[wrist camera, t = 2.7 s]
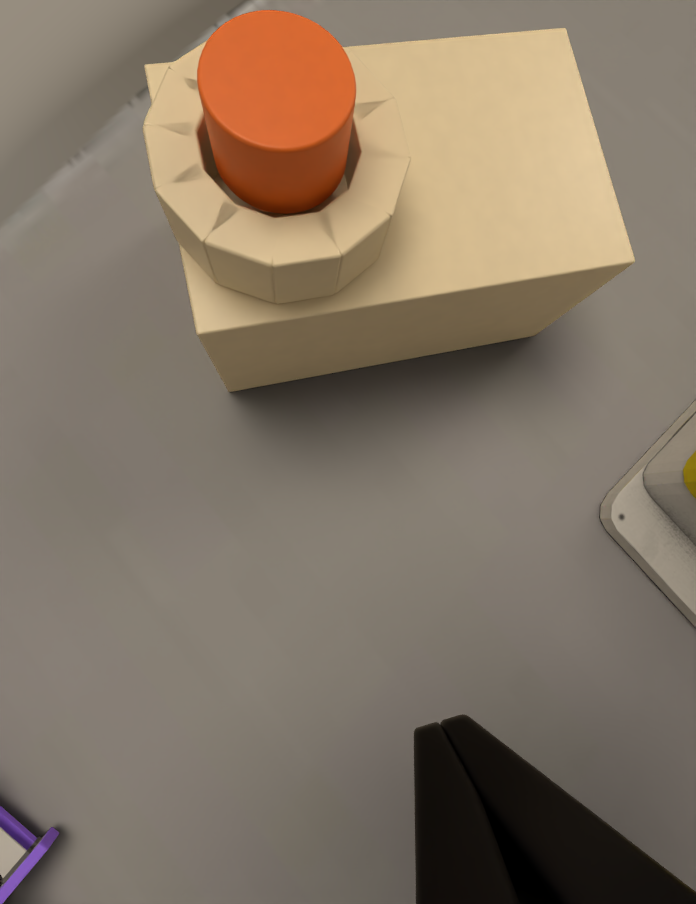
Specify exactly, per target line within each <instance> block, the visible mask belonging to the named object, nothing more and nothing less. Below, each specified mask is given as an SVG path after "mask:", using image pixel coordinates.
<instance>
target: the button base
mask: <svg viewBox="0 0 696 904" xmlns="http://www.w3.org/2000/svg"><path fill="white" fill-rule="evenodd" d="M207 41H208V40H207ZM207 41H205V42H204V43H202V44H201V45H199V46H198V47H196V48H195V49H193V50H192V51H190V52H189V53H187V54H186V55H184V56H182V57H181V58H179V59H178V60H176V61H175V62H168V63H156V64H146V65H145V72H146V78H147V83H148V88H149V93H150V98H151V103H152V104H151V107H150V109H149V111H148V114H147V116H146V118H145V120H144V126H143V134H144V139H145V144H146V150H147V155H148V160H149V165H150V170H151V176H152V181H153V186H154V190H155V192H156V194H157V197H158V199H159V201H160V203H161V206H162V208H163V210H164V213H165V215H166V217H167V219H168V222H169V224H170V226H171V229H172V231H173V233H174V235H175V238H176V240H177V241H178V242H179V246H180V252H181V257H182V262H183V267H184V272H185V277H186V282H187V287H188V292H189V298H190V303H191V308H192V313H193V318H194V323H195V328H196V333H197V335H198V337H199V339H200V341H201V342H202V344H203V346H204V348H205V350H206V352H207V353H208V355H209V357H210V359H211V361H212V362H213V364H214V366H215V368H216V370H217V371H218V373H219V375H220V377H221V379H222V380H223V382H224V384H225V386H226V388H227V389H228V391H229V392H232V391H238V390H243V389H249V388H254V387H259V386H265V385H270V384H276V383H281V382H287V381H292V380H297V379H303V378H308V377H314V376H319V375H325V374H330V373H335V372H341V371H346V370H352V369H357V368H362V367H368V366H373V365H379V364H384V363H390V362H395V361H400V360H406V359H411V358H417V357H422V356H428V355H433V354H438V353H444V352H449V351H455V350H460V349H465V348H471V347H476V346H482V345H487V344H493V343H498V342H503V341H509V340H514V339H520V338H525V337H530V336H535V335H536V334H538V333H539V332H540V331H542V330H543V329H544V328H546V327H547V326H548V325H550V324H551V323H553V322H554V321H555V320H557V319H558V318H559V317H561V316H562V315H563V314H565V313H566V312H568V311H569V310H570V309H572V308H573V307H574V306H576V305H577V304H578V303H580V302H581V301H582V300H584V299H585V298H587V297H588V296H589V295H591V294H592V293H593V292H595V291H596V290H597V289H599V288H600V287H602V286H603V285H604V284H606V283H607V282H608V281H610V280H611V279H612V278H614V277H615V276H617V275H618V274H619V273H621V272H622V271H623V270H625V269H626V268H627V267H629V266H630V265H632V264H633V263H634V262H635V258H634V255H633V252H632V248H631V245H630V242H629V238H628V235H627V232H626V228H625V225H624V222H623V218H622V215H621V212H620V208H619V205H618V202H617V198H616V195H615V192H614V188H613V185H612V182H611V178H610V175H609V171H608V168H607V165H606V161H605V158H604V155H603V151H602V148H601V145H600V141H599V138H598V135H597V131H596V128H595V125H594V121H593V118H592V115H591V111H590V108H589V105H588V101H587V98H586V95H585V91H584V88H583V84H582V81H581V78H580V74H579V71H578V68H577V64H576V61H575V58H574V54H573V51H572V48H571V44H570V41H569V38H568V34H567V31H566V29H565V28H558V29H547V30H535V31H524V32H512V33H501V34H489V35H478V36H466V37H455V38H443V39H432V40H420V41H409V42H397V43H386V44H374V45H363V46H351V47H342V48H343V49H344V51H345V52H346V54H347V56H348V58H349V60H350V62H351V65H352V68H353V71H354V74H355V80H356V100H355V107H354V114H353V121H352V128H351V134H350V141H349V148H348V155H347V162H346V168H345V172H344V175H343V177H342V180H341V182H340V184H339V185H338V187H337V188H336V190H335V191H334V192H333V193H332V194H331V195H330V196H329V197H328V198H327V199H326V200H325V201H324V202H322V203H321V204H319V205H317V206H315V207H313V208H311V209H309V210H306V211H303V212H298V213H290V214H279V213H272V212H267V211H263V210H260V209H258V208H255V207H253V206H251V205H249V204H248V203H246V202H244V201H243V200H241V199H240V198H239V197H237V196H236V195H235V194H234V193H233V192H232V191H231V190H230V189H229V188H228V186H227V185H226V184H225V183H224V181H223V179H222V178H221V176H220V174H219V172H218V170H217V167H216V164H215V160H214V156H213V152H212V147H211V143H210V139H209V134H208V130H207V125H206V121H205V117H204V112H203V108H202V104H201V99H200V95H199V91H198V84H197V69H198V63H199V59H200V56H201V53H202V50H203V48H204V46H205V44H206V42H207Z"/></svg>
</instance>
